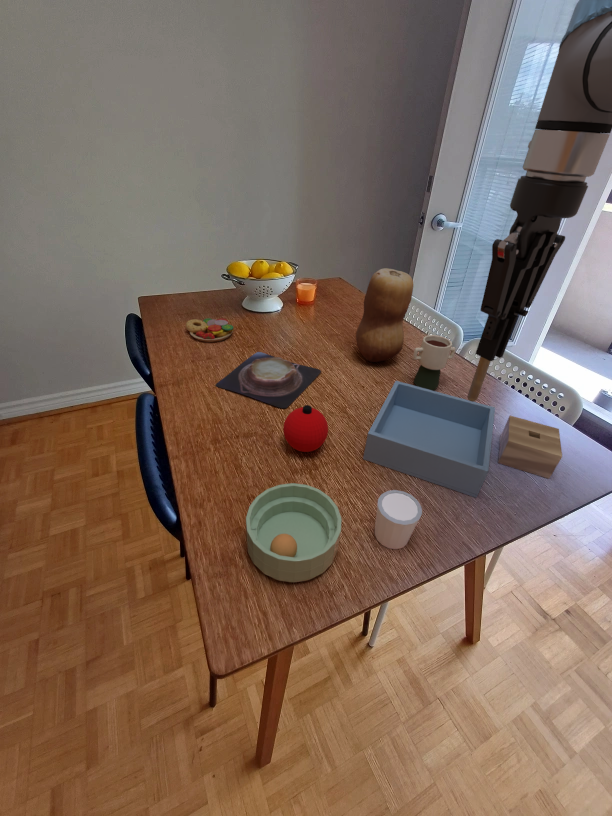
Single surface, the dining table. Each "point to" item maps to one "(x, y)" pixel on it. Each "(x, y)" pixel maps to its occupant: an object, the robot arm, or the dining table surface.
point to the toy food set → (209, 329)
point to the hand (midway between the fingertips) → (488, 355)
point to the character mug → (432, 360)
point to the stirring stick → (478, 379)
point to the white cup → (396, 518)
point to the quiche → (269, 379)
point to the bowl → (293, 531)
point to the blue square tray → (433, 437)
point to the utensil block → (530, 447)
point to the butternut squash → (384, 315)
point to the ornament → (305, 429)
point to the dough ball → (284, 545)
